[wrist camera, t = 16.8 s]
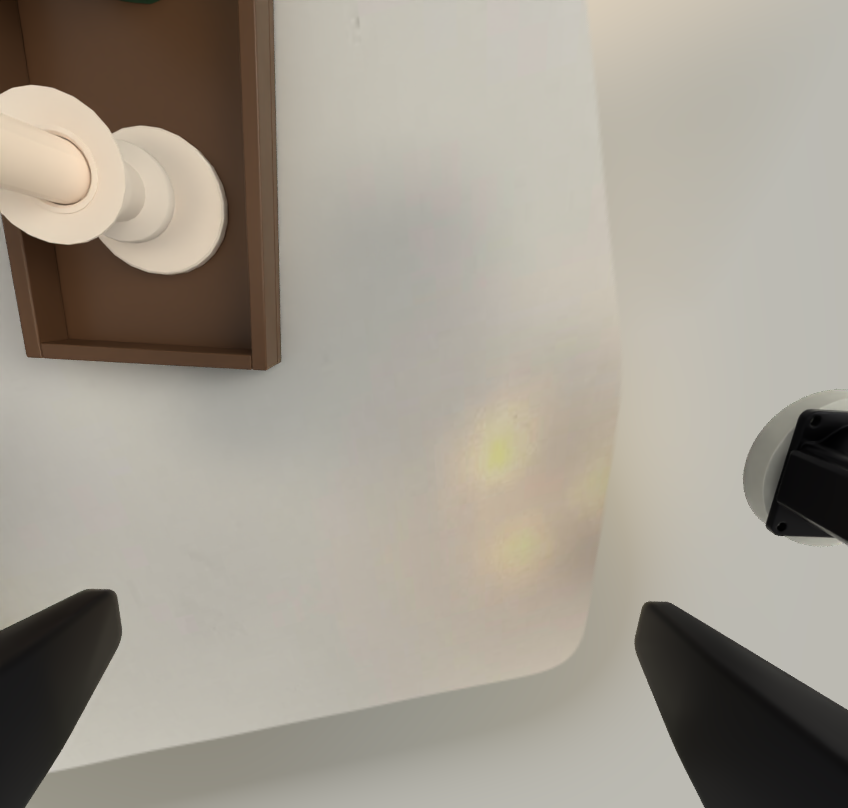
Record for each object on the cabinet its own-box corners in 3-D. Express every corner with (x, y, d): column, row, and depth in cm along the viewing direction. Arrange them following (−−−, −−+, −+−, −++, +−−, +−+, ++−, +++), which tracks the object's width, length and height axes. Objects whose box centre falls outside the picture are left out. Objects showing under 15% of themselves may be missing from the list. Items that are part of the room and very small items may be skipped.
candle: (73, 232, 17) (-421, 151, 7) (116, 100, 16) (-397, -232, 6) (200, 298, 18) (-72, 312, 8) (250, 177, 17) (8, 5, 6)
